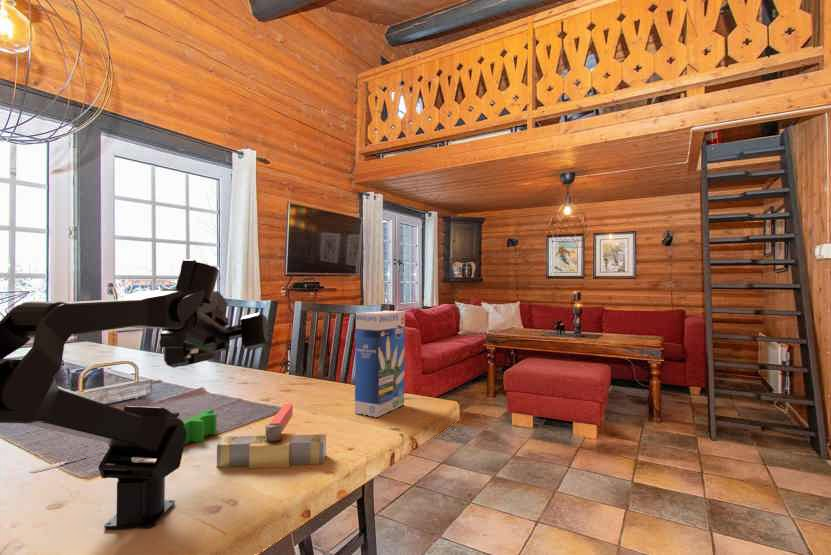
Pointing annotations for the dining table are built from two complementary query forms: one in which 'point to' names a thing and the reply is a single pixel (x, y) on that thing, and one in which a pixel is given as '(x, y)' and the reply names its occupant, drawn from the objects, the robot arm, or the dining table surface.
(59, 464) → the butter knife
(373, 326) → the string lights box
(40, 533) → the dining table surface
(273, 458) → the block
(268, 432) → the lever
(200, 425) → the pipe clamp
